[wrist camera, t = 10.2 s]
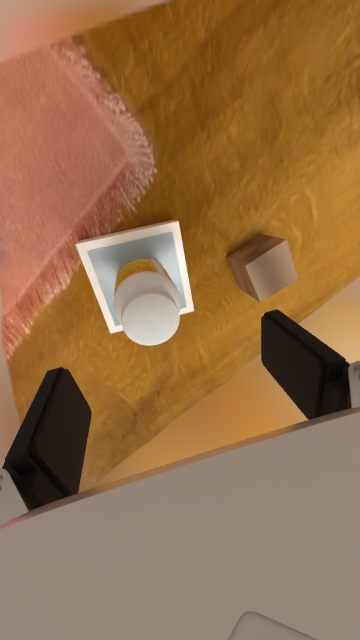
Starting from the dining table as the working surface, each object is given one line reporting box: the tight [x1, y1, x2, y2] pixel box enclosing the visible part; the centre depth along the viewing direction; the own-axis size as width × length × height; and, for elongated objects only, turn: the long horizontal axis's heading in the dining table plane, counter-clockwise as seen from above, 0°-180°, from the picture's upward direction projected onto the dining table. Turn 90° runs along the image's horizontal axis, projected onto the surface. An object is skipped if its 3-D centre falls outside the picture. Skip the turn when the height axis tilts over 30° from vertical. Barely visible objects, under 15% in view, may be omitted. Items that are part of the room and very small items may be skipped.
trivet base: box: [76, 220, 194, 333], centre depth 25 cm, size 10×10×3 cm
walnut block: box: [227, 235, 298, 302], centre depth 27 cm, size 5×5×5 cm
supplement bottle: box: [113, 257, 181, 346], centre depth 20 cm, size 5×5×10 cm
